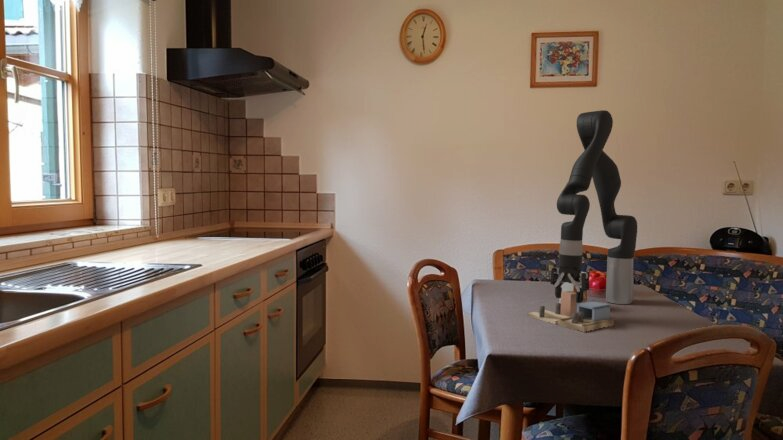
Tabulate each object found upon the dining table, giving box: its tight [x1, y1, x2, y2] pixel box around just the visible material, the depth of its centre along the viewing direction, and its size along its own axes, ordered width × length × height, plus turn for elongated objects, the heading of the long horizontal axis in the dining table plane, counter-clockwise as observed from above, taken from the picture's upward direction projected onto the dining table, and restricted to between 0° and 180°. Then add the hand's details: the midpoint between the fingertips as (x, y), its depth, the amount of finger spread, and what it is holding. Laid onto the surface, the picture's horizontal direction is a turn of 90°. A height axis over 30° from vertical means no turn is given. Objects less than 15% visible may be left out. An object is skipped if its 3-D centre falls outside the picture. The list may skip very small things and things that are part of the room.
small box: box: [558, 271, 588, 304], centre depth 202 cm, size 8×6×13 cm
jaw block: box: [560, 291, 577, 317], centre depth 190 cm, size 4×4×8 cm
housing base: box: [557, 312, 615, 333], centre depth 178 cm, size 15×10×4 cm, turn 124°
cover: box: [577, 300, 611, 322], centre depth 180 cm, size 8×7×5 cm
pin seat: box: [526, 302, 570, 325], centre depth 186 cm, size 10×12×4 cm
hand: (568, 300), depth 190 cm, fingers open, 8 cm apart
